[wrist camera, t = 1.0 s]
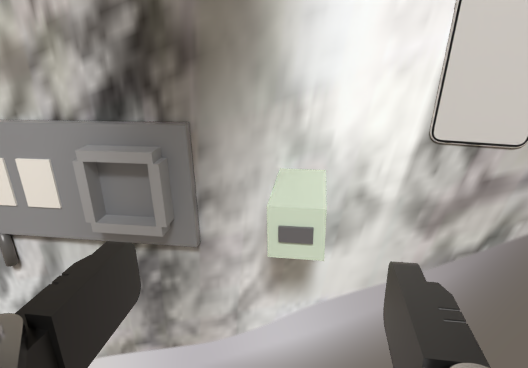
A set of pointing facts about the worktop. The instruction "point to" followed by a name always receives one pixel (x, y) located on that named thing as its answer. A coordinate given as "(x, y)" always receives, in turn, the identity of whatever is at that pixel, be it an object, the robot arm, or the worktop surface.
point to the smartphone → (484, 76)
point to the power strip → (97, 182)
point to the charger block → (297, 215)
